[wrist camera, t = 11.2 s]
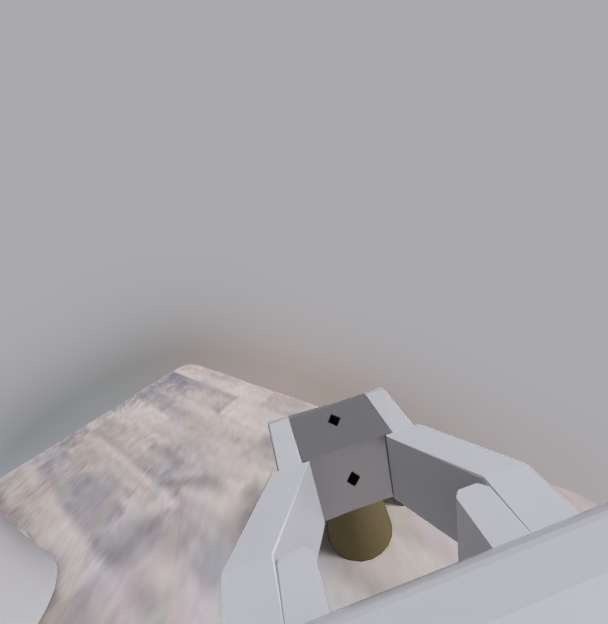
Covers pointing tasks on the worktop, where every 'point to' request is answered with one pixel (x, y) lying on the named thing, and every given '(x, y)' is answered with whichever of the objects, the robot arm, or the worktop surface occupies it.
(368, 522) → the cork
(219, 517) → the worktop surface
